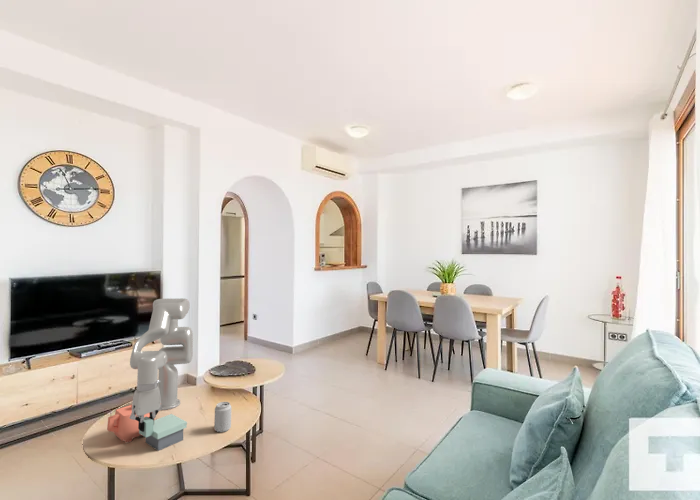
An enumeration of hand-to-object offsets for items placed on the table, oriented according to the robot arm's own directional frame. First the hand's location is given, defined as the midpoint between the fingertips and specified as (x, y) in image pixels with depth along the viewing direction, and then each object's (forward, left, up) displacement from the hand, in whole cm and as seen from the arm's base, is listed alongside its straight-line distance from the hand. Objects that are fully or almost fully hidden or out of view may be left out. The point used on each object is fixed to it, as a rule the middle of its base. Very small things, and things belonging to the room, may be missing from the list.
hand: (146, 428), depth 151 cm
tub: (0, +8, -9) cm, 12 cm away
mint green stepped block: (0, +6, -3) cm, 7 cm away
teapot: (-16, +3, -9) cm, 19 cm away
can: (+11, +30, -9) cm, 33 cm away
